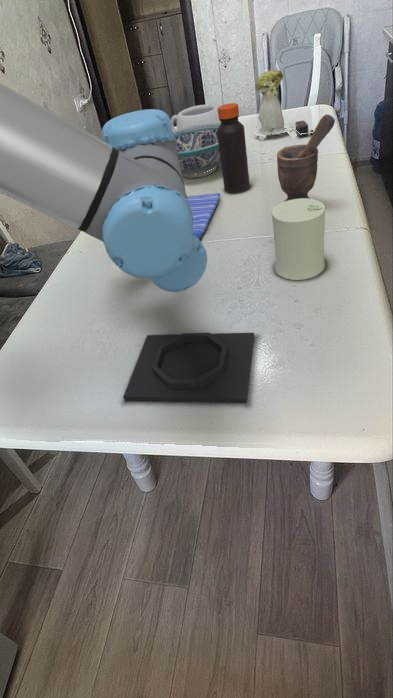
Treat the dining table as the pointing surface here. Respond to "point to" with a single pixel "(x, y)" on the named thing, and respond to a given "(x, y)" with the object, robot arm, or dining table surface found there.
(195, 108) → the mug
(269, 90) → the vase of flowers
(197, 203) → the dish towel
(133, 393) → the pad
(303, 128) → the dark brown chunk
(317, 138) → the mortar and pestle
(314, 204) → the can
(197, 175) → the bowl
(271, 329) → the dining table surface
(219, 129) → the vinegar
